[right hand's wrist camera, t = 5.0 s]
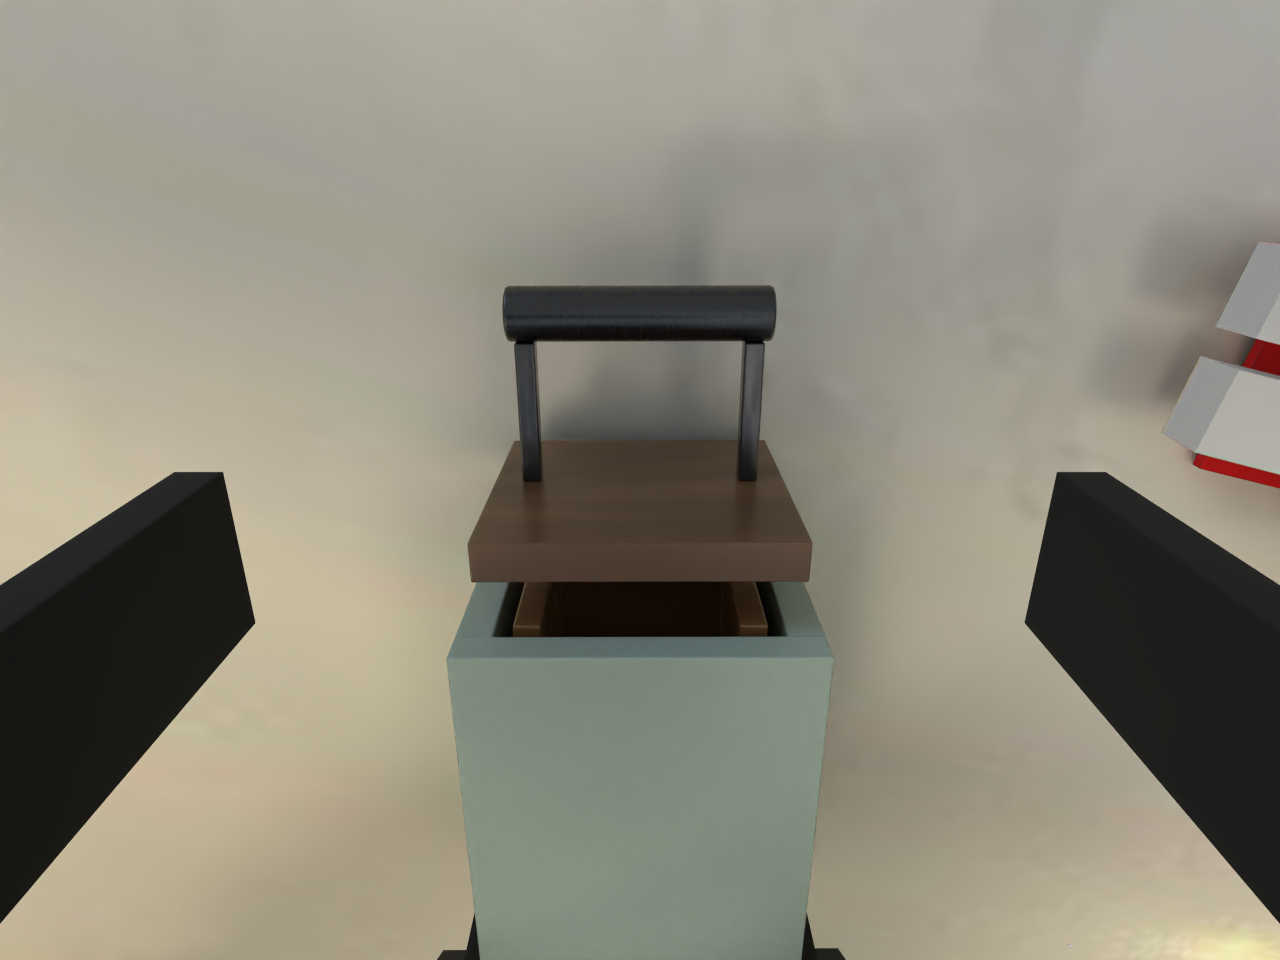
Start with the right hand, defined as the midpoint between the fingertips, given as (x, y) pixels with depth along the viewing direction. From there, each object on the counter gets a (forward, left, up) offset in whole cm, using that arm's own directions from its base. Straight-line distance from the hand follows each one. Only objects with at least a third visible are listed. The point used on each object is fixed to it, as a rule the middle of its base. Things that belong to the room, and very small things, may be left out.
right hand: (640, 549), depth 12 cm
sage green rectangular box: (-7, -14, -16) cm, 22 cm away
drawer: (-4, -8, -15) cm, 18 cm away
